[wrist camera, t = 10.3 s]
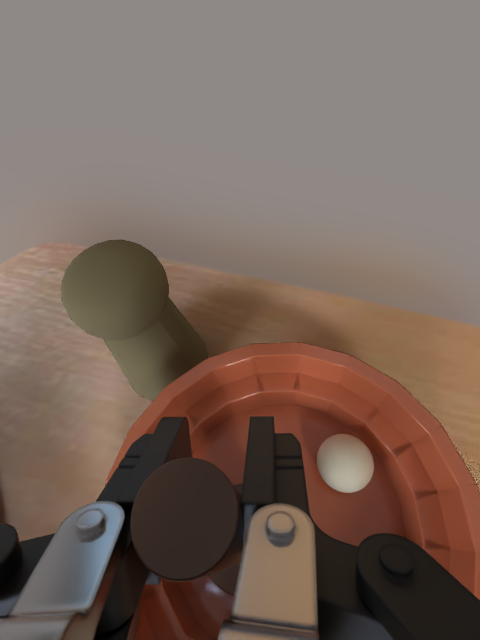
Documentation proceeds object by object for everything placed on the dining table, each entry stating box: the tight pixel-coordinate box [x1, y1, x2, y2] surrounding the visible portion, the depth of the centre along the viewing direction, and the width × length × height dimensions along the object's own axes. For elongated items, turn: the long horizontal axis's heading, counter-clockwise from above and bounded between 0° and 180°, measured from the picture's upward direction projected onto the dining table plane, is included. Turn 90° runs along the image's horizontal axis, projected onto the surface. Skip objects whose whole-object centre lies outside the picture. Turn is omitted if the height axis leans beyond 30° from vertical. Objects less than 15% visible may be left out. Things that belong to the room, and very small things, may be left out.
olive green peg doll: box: [61, 240, 208, 401], centre depth 22 cm, size 6×6×11 cm
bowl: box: [105, 342, 480, 640], centre depth 18 cm, size 17×17×6 cm
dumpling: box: [317, 434, 374, 493], centre depth 20 cm, size 3×3×3 cm
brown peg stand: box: [130, 457, 244, 596], centre depth 13 cm, size 5×5×16 cm
